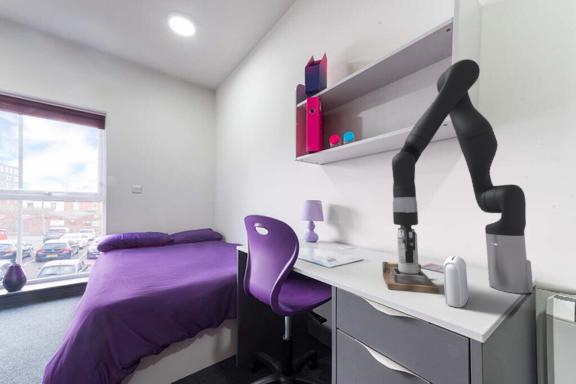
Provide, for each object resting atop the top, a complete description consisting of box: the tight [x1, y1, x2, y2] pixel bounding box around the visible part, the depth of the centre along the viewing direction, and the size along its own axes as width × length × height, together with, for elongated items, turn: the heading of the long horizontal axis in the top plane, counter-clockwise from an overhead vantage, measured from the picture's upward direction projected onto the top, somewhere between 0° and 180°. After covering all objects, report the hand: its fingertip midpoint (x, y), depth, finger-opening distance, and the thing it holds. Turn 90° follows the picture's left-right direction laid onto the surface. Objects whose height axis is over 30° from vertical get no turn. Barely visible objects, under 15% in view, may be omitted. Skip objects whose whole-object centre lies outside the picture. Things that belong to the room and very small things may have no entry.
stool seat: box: [382, 267, 440, 295], centre depth 76 cm, size 14×13×4 cm
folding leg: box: [381, 261, 422, 274], centre depth 84 cm, size 13×2×5 cm, turn 78°
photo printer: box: [443, 255, 469, 309], centre depth 63 cm, size 10×4×12 cm, turn 134°
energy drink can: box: [396, 228, 419, 275], centre depth 77 cm, size 6×6×15 cm
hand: (407, 260), depth 76 cm, fingers closed on energy drink can, 6 cm apart
